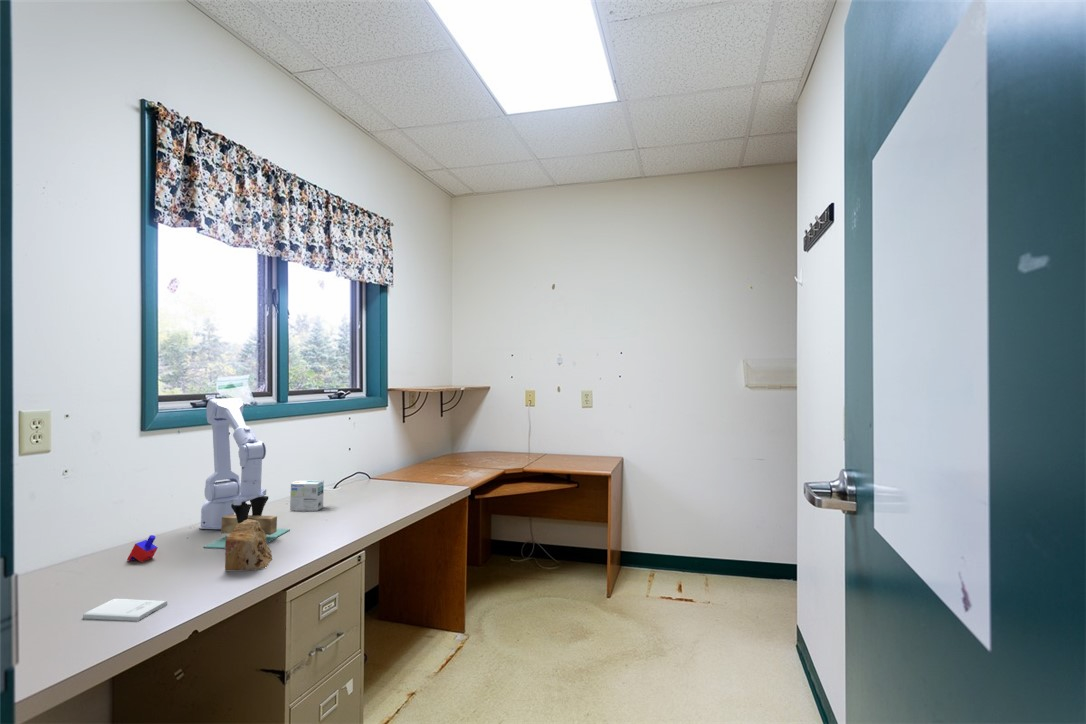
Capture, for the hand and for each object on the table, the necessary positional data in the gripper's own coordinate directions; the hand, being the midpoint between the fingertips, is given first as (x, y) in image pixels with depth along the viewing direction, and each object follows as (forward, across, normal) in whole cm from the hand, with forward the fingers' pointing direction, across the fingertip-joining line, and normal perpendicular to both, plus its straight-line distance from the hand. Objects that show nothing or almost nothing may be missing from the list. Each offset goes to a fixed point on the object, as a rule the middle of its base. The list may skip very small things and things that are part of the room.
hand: (249, 522), depth 169 cm
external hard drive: (+6, -52, -4) cm, 52 cm away
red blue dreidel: (+5, -21, +18) cm, 28 cm away
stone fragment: (+5, -20, -14) cm, 25 cm away
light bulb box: (+6, +38, 0) cm, 38 cm away
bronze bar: (+3, 0, 0) cm, 3 cm away
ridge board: (+5, 0, 0) cm, 5 cm away
